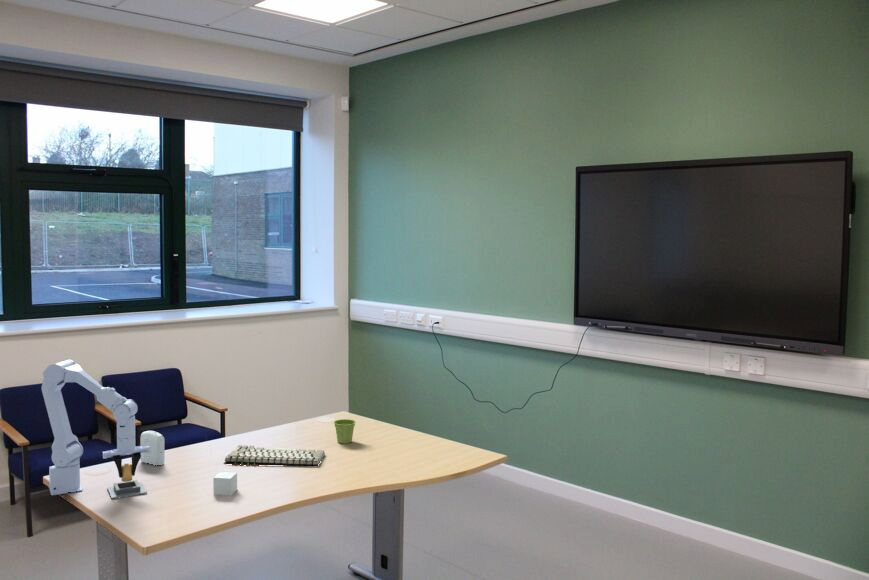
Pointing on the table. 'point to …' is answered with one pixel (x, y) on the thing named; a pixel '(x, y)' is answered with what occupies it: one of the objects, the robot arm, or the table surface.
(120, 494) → the housing
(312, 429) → the table surface
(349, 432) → the plant pot
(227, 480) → the white cube
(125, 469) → the tan capped bottle
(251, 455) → the mechanical keyboard
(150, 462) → the white wifi router
